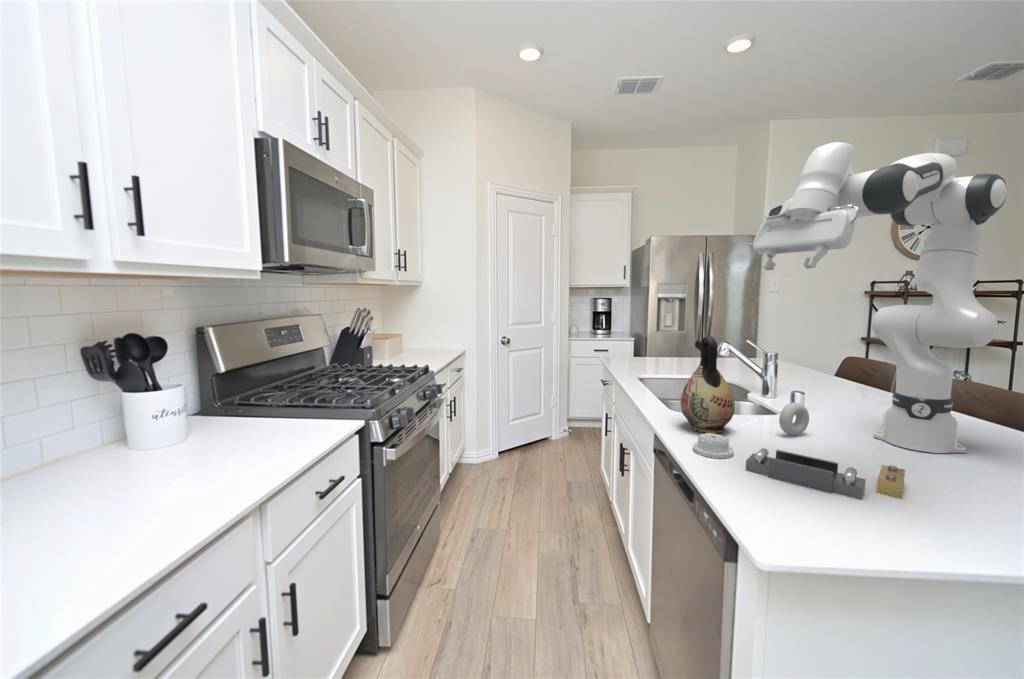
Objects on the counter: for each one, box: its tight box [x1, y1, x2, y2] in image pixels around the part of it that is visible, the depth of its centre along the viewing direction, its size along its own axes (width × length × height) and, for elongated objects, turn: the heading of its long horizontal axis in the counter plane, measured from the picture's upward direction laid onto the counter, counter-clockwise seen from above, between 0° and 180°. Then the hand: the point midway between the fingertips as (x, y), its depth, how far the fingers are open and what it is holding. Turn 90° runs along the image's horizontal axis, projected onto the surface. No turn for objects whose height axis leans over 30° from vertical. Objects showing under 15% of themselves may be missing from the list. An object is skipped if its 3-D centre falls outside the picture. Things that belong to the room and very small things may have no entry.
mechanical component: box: [692, 433, 735, 460], centre depth 115 cm, size 10×4×10 cm
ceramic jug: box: [680, 335, 736, 434], centre depth 132 cm, size 17×15×30 cm
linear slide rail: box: [745, 447, 867, 501], centre depth 98 cm, size 8×22×4 cm, turn 46°
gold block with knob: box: [876, 464, 906, 500], centre depth 93 cm, size 4×10×4 cm, turn 136°
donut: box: [778, 402, 810, 437], centre depth 128 cm, size 10×4×10 cm, turn 108°
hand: (787, 268), depth 95 cm, fingers open, 8 cm apart
